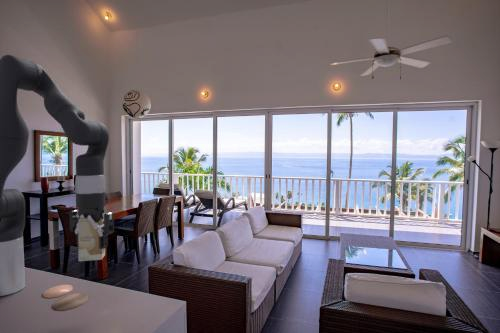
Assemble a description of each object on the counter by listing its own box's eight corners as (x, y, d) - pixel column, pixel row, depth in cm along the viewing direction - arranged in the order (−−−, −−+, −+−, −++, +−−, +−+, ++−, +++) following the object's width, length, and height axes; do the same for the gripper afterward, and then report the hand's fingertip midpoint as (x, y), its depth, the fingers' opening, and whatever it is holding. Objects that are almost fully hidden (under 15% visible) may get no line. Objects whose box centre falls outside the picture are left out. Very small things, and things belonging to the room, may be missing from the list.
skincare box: (78, 262, 81) (76, 219, 80) (82, 256, 85) (81, 215, 84) (103, 259, 83) (102, 217, 82) (106, 254, 87) (105, 214, 86)
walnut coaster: (45, 308, 84) (45, 305, 84) (72, 294, 93) (72, 291, 93) (69, 313, 81) (69, 310, 81) (95, 298, 90) (94, 295, 90)
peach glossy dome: (36, 296, 91) (36, 294, 91) (60, 285, 99) (59, 283, 99) (56, 300, 89) (55, 297, 89) (78, 288, 96) (78, 286, 96)
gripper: (59, 191, 81) (61, 248, 82) (100, 193, 77) (102, 253, 78) (82, 188, 88) (83, 241, 89) (120, 190, 84) (122, 245, 85)
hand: (92, 246), depth 84 cm, fingers closed on skincare box, 7 cm apart
